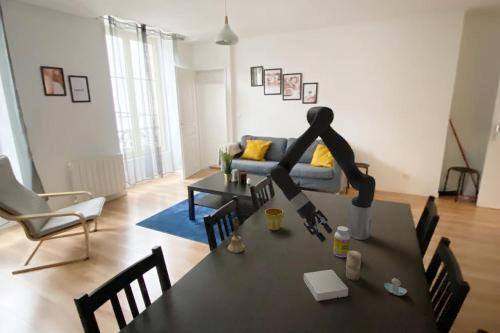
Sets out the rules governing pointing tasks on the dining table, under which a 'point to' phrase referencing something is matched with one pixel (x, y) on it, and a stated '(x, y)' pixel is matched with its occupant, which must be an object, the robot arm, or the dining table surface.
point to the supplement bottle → (341, 242)
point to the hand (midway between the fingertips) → (327, 236)
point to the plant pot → (274, 218)
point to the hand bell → (236, 239)
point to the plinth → (325, 285)
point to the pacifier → (395, 287)
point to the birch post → (353, 265)
